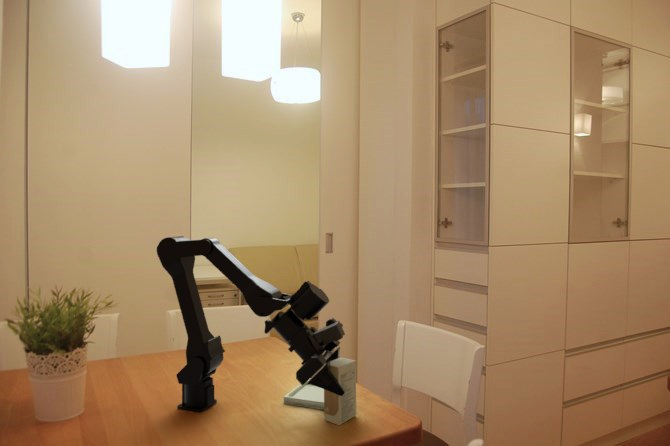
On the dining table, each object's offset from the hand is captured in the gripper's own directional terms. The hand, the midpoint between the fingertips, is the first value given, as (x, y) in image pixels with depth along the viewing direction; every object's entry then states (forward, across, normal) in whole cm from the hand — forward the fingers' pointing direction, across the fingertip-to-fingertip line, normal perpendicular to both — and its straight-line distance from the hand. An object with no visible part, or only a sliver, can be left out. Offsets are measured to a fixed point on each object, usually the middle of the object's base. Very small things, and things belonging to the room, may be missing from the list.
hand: (346, 388), depth 99 cm
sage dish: (-2, +10, +11) cm, 15 cm away
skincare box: (+4, 0, +6) cm, 7 cm away
